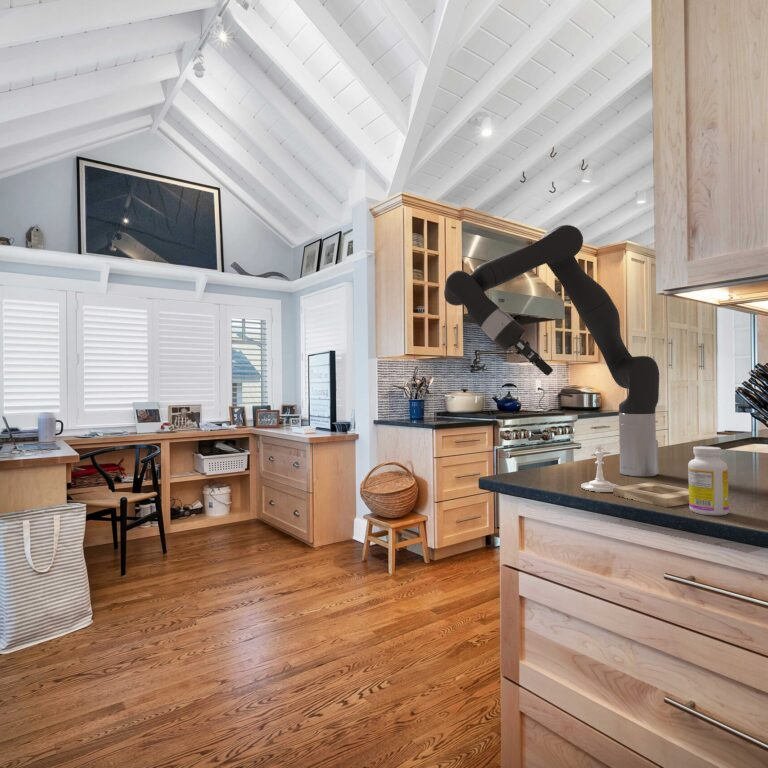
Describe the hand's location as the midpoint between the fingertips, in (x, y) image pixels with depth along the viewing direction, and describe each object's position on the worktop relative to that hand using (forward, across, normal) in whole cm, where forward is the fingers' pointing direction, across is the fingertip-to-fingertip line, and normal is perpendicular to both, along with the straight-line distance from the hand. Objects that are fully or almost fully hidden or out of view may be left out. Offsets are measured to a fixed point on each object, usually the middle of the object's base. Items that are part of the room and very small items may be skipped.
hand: (550, 372), depth 128 cm
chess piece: (+28, 0, +12) cm, 30 cm away
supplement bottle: (+42, -18, -1) cm, 45 cm away
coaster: (+28, 0, +12) cm, 31 cm away
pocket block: (+36, -7, +4) cm, 37 cm away
